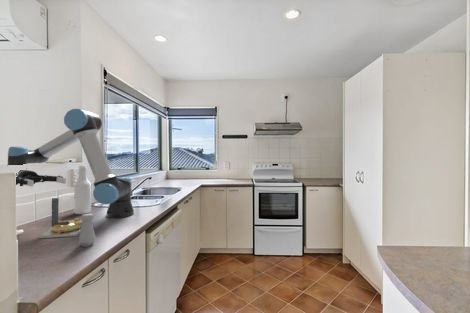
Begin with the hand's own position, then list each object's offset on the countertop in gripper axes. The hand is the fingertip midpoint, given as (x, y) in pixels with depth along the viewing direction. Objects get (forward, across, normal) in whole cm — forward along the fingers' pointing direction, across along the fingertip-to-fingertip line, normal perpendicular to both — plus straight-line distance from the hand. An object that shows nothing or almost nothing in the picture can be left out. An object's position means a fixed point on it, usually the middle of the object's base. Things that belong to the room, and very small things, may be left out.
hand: (49, 182), depth 109 cm
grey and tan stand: (+8, -5, -22) cm, 24 cm away
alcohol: (-17, -28, -24) cm, 41 cm away
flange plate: (+8, -5, -23) cm, 25 cm away
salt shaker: (+34, +2, -22) cm, 41 cm away
